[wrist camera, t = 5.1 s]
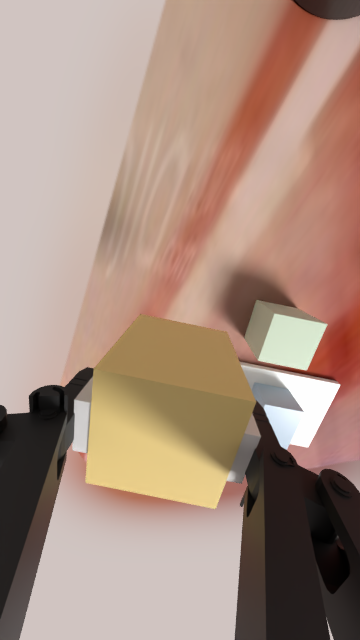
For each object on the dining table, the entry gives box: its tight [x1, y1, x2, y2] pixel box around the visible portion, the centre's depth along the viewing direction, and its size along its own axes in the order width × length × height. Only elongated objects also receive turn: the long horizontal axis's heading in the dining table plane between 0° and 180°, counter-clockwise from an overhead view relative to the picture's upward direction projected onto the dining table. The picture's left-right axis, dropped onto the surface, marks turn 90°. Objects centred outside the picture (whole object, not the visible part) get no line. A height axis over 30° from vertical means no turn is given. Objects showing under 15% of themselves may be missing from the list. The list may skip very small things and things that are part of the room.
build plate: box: [240, 362, 340, 450], centre depth 32 cm, size 13×20×6 cm, turn 79°
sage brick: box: [244, 300, 327, 370], centre depth 27 cm, size 6×6×7 cm
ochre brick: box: [86, 314, 256, 509], centre depth 12 cm, size 6×6×7 cm
